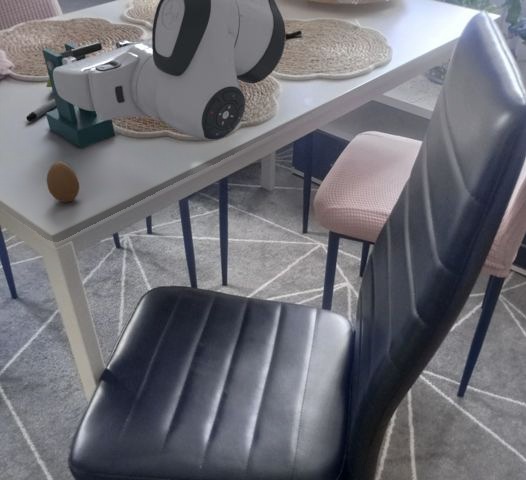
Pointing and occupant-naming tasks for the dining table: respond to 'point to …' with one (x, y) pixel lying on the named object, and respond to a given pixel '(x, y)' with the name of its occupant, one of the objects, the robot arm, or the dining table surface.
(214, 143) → the dining table surface
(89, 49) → the lever
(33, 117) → the pen
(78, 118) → the teal axle stand
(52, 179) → the egg
